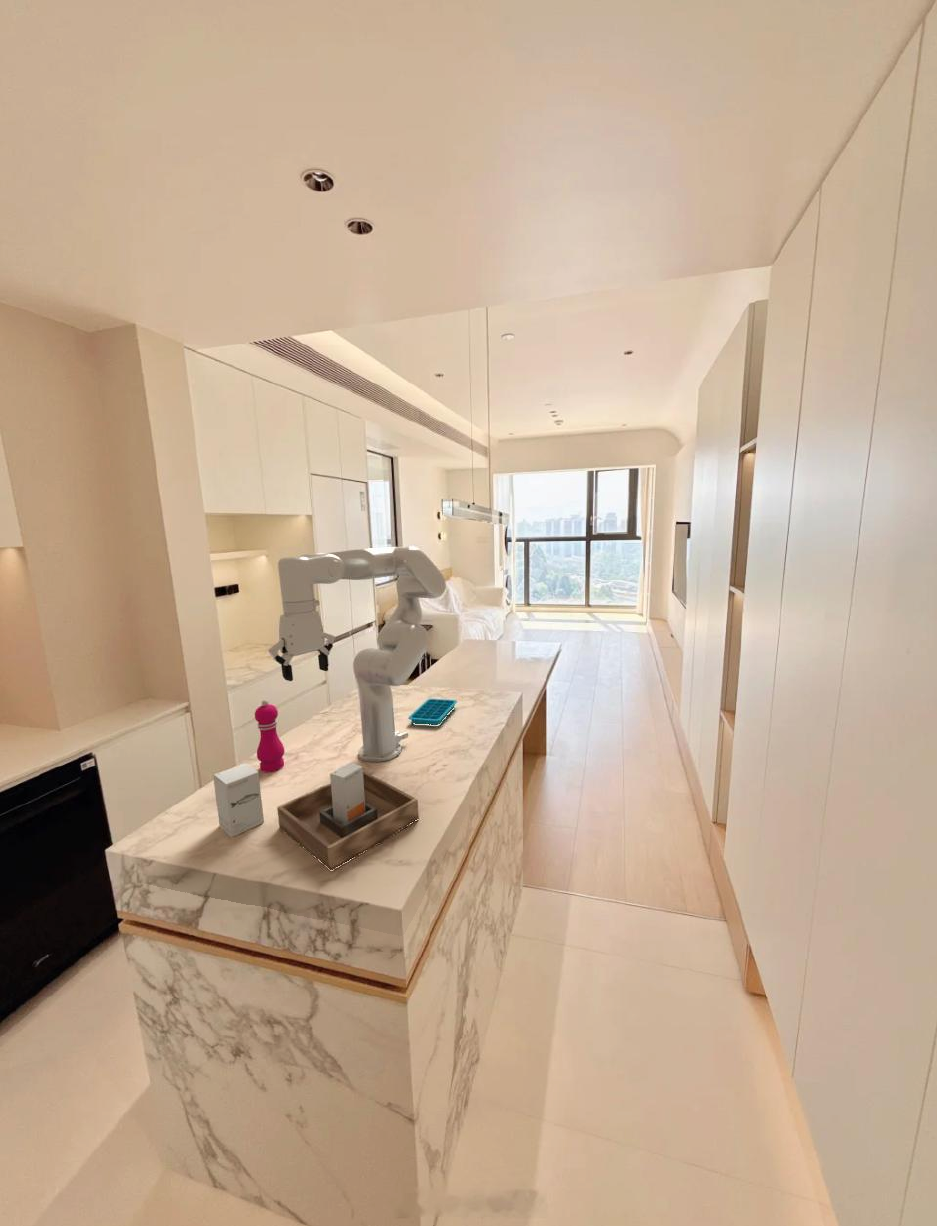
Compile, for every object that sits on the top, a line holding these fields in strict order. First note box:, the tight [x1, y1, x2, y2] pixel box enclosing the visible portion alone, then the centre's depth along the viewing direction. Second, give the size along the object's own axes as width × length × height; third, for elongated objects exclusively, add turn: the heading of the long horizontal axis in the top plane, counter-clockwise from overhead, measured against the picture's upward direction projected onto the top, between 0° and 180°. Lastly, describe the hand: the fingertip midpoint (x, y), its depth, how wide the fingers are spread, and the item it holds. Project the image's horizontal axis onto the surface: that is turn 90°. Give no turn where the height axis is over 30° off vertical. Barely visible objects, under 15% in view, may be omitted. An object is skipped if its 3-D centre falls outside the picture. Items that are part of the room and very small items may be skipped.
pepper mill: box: [254, 699, 285, 773], centre depth 134 cm, size 7×7×20 cm
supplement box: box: [212, 762, 265, 838], centre depth 107 cm, size 7×7×13 cm
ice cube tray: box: [407, 698, 458, 725], centre depth 169 cm, size 12×20×3 cm, turn 163°
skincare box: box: [329, 762, 366, 824], centre depth 106 cm, size 6×4×12 cm
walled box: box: [276, 770, 420, 871], centre depth 106 cm, size 22×22×5 cm
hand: (306, 675), depth 119 cm, fingers open, 9 cm apart
